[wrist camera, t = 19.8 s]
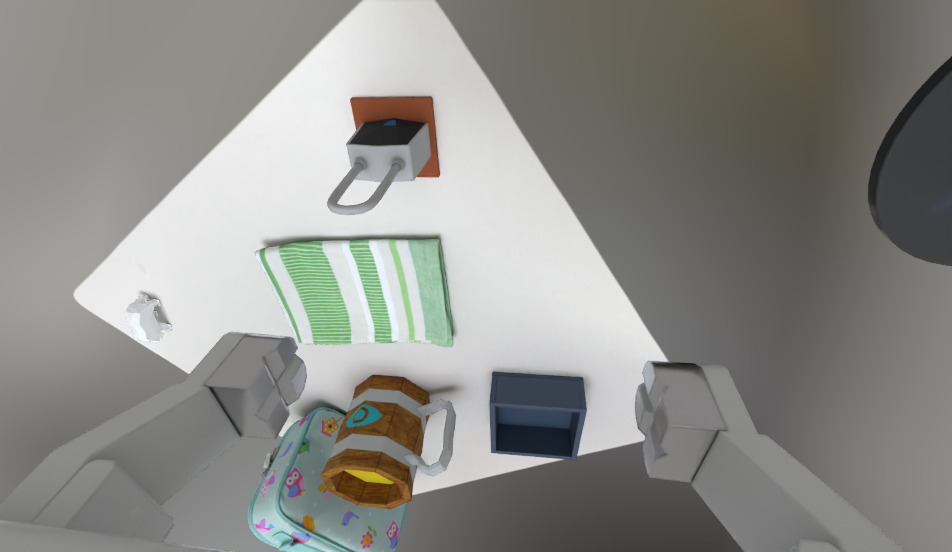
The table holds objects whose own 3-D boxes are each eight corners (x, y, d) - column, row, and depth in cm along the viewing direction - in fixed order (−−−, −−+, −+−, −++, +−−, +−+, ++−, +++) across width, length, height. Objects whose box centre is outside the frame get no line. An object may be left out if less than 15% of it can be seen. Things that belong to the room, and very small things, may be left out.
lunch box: (284, 408, 77) (215, 536, 60) (317, 390, 72) (251, 524, 56) (388, 473, 88) (354, 596, 72) (423, 461, 84) (395, 590, 67)
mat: (432, 96, 40) (430, 98, 39) (439, 175, 45) (438, 177, 44) (351, 97, 41) (349, 99, 40) (368, 174, 46) (366, 176, 45)
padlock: (369, 158, 44) (309, 235, 32) (361, 118, 41) (292, 185, 30) (431, 159, 43) (393, 238, 31) (427, 118, 41) (384, 187, 29)
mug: (381, 426, 77) (353, 512, 65) (339, 381, 70) (300, 469, 58) (478, 411, 71) (467, 503, 59) (443, 360, 64) (422, 453, 52)
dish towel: (456, 339, 60) (453, 354, 58) (305, 335, 64) (297, 349, 61) (440, 235, 50) (435, 248, 47) (258, 236, 53) (247, 248, 51)
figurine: (158, 294, 62) (134, 316, 58) (175, 331, 67) (154, 353, 63) (141, 291, 62) (117, 313, 58) (160, 329, 67) (138, 351, 63)
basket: (583, 377, 63) (586, 409, 58) (573, 428, 71) (576, 460, 67) (492, 371, 64) (489, 403, 60) (493, 422, 72) (491, 453, 68)
